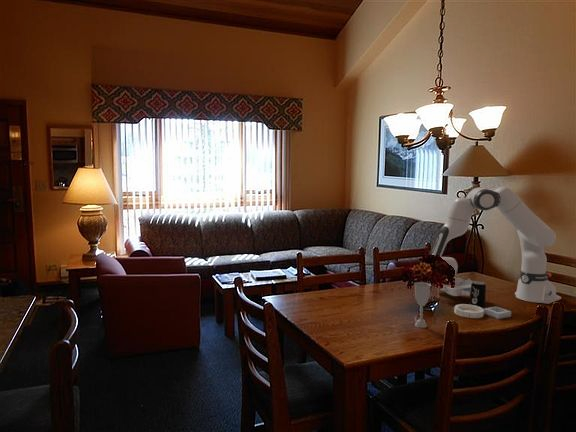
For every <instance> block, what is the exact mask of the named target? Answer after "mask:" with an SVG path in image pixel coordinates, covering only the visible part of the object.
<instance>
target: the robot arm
mask: <svg viewBox="0 0 576 432" xmlns="http://www.w3.org/2000/svg"><path fill="white" fill-rule="evenodd" d="M493 208H497V209H498V211H499V212H500V213H501V214H502V215H503V216H504V217H505V219H506V220H507V221H508V222H509V223H510V224H511V225H512V226H513V227H514V228H515V229H516V230H517V236H518V238H519V244H520V251H521V268H520V271H519V279H518V282H517V286H516V291H515V292H514V295H515V298H517V299H519V300H522V301H525V302H530V303H539V304H540V303H541V304H553V303H554V302H556V301H560V300H561V299H562V296H560V295H558V294H557V287H556V286H555V285H554V284H553V283H551V282H550V280H549V278H551V277H552V273H550V272H547V263H548V262H547V261H548V259H547V255H546V253H545V250H544V248H549V247H551V246H553V245H554V244H555V242H556V240H557V234H556V232H555V231H554V230H553V229H552V228H551V227H550V226H548V224H546V223H545V222H544V221H543V220H542V219H541V218H540V217H538V215H536V213H534V212H533V211H532V210H531V209H530V208H529V207H528V206H527V205H526V204H525V202H524V201H523V200H522V199H521V198H520V197H519V196H518V195H517V194H516V193H515V192H514V191H513V190H512V189H510V188H509V187H507V186H503V185H502V186H500V187H497V188H496V189H494V190H491V189H489V188H487V187H482V186H474V187H473V188H471V189H470V190H469V191H468V192H467V193H466V194H465V195H464V196H461V197H457V198H455V199H454V200H453V202H452V204H451V206H450V209H449V211H448V215H447V218H446V221H445V223H444V225H443V226H442V227H440V229H439V230H438V232H437V234H436V236H435V239H434V241H433V243H432V247H431V249H430V251H429V253H428V255H429V254H432V255H440V257H441V258H442V259H443V260H445V261H446V262H447V263H448V264H449V265H451V266H452V267H453V268H454V270H455V287H454V288H451V285H444V286H443V288H442V289H440V291H443V292H445V293H446V294H447V295H450V296H452V297H458V296H466V297H471V284H472V282H473V281H474V280H471V279H470V278H463V277H461V278H460V277H457V274H458V269H459V264H458V261H457V260H456V259H455V258H454V257H450V256H442V255H443V253H444V251H445V248H446V247H447V244H448V243H449V241H451V240H452V239H455V238H457V237H461V236H463V235H465V234H466V232H467V231H468V229H469V227H470V223H471V218H472V215H473V213H474V212H475V211H476V210H480V211H489V210H492V209H493Z"/></svg>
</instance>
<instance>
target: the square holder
mask: <svg viewBox="0 0 576 432" xmlns="http://www.w3.org/2000/svg"><path fill="white" fill-rule="evenodd" d="M483 309H484V316H489V317H490V318H494V319H497V320H502V319H507V318H510V317H512V311H511V310H508V309H505V308H502V307H499V306H496V305H495V306H490V307H484V308H483Z"/></svg>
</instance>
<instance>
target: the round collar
mask: <svg viewBox="0 0 576 432" xmlns="http://www.w3.org/2000/svg"><path fill="white" fill-rule="evenodd" d="M453 309H454V310H453V313H454V314H455V315H457V316H459V317H463V318H466V319H467V318H468V319H480V318H481V319H482V318H483V317H484V316H485V314H484V308H481V307H479V306H475V305H470V303H469V304H467V303H466V304H465V303H459V304H455V306H454V307H453Z"/></svg>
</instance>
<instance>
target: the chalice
mask: <svg viewBox="0 0 576 432" xmlns="http://www.w3.org/2000/svg"><path fill="white" fill-rule="evenodd" d="M413 285H414V297H415V301H416V303H417V304H418V306H420V308H419V312H420V313H418V314H419V318H418V319H417V320H416V321H415V324H414V326H415V327H417V328H427V327H428V325H427V323H426V322H427V321H425V319H424V317H423V316H424V314H423V312H424V308H423V307H424V306H426V304H427V303H428V301H429V299H430V296H431V295H430V294H431V287H432V285H431V283H430V282H429V283H428V282H423V281H417V282H414V283H413Z"/></svg>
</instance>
